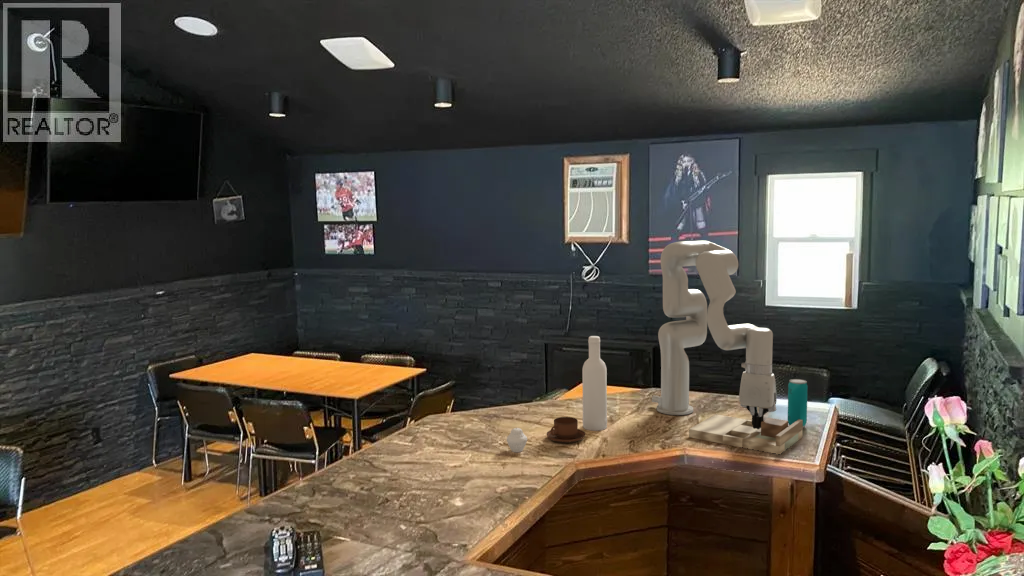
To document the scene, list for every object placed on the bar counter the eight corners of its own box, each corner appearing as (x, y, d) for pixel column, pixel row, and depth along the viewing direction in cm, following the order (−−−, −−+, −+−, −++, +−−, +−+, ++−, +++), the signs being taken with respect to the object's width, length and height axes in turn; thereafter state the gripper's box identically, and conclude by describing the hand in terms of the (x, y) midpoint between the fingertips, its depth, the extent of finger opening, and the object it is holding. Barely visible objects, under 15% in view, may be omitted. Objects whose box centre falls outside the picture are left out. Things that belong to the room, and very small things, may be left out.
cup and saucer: (574, 448, 215) (573, 428, 215) (539, 441, 222) (539, 422, 221) (591, 437, 226) (591, 418, 225) (558, 431, 232) (558, 413, 231)
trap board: (688, 437, 223) (688, 419, 223) (715, 421, 239) (715, 405, 238) (779, 454, 206) (780, 436, 205) (802, 437, 221) (802, 419, 220)
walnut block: (760, 435, 216) (761, 422, 216) (768, 430, 221) (768, 417, 220) (781, 438, 212) (781, 425, 212) (788, 433, 217) (788, 420, 216)
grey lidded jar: (503, 452, 212) (503, 429, 211) (511, 446, 218) (510, 423, 217) (523, 455, 210) (523, 431, 209) (530, 448, 215) (530, 425, 215)
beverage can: (803, 423, 235) (804, 378, 233) (808, 429, 229) (810, 382, 228) (785, 423, 235) (786, 378, 234) (790, 428, 230) (791, 382, 228)
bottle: (610, 425, 237) (609, 335, 234) (602, 432, 230) (602, 339, 227) (587, 422, 240) (586, 334, 237) (579, 429, 233) (578, 338, 230)
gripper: (730, 367, 219) (728, 426, 221) (779, 374, 210) (777, 435, 212) (739, 363, 225) (738, 420, 227) (788, 369, 216) (786, 429, 218)
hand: (757, 427), depth 219 cm, fingers closed
